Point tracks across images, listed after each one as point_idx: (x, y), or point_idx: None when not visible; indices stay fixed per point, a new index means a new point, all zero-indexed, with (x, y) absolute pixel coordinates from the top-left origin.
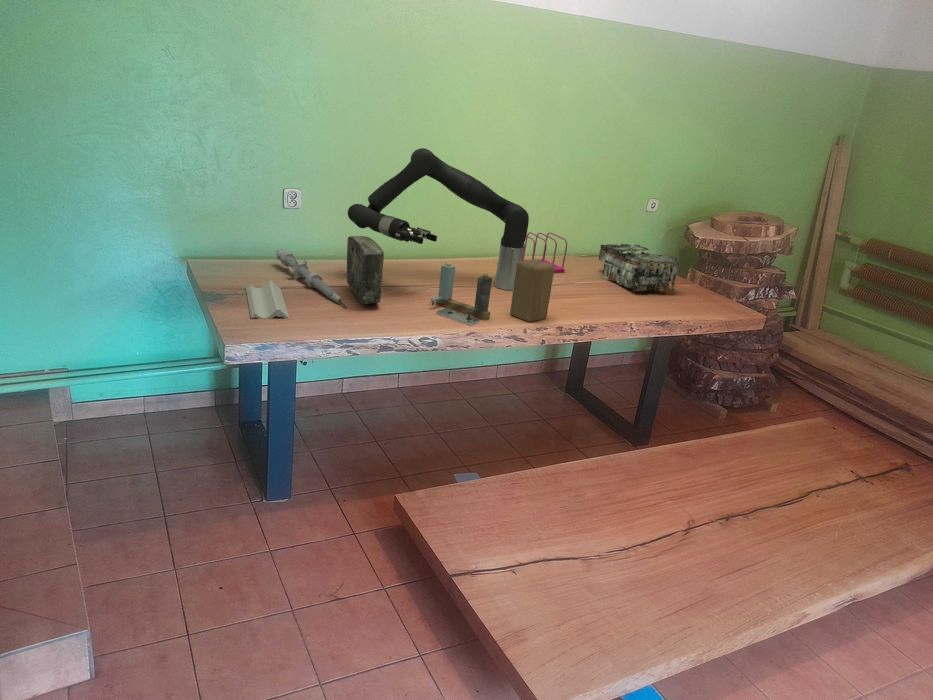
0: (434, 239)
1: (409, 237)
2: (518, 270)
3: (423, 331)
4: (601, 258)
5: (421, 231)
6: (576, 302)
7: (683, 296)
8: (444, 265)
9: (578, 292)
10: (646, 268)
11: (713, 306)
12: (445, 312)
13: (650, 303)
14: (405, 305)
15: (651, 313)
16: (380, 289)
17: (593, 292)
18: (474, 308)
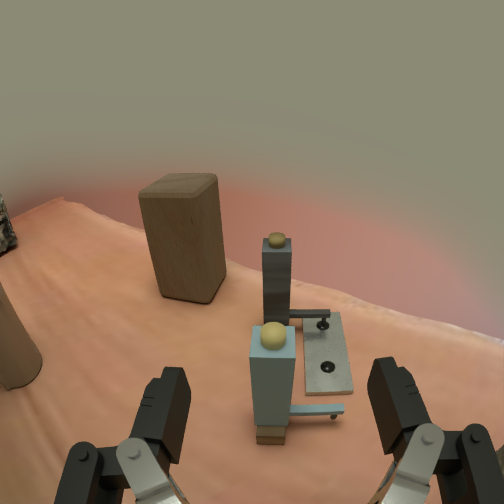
0: (185, 393)
1: (456, 434)
2: (200, 207)
3: (444, 337)
4: None
5: (181, 502)
6: (69, 271)
7: (15, 228)
8: (282, 352)
9: (20, 282)
10: (6, 212)
11: (40, 212)
12: (337, 373)
13: (45, 233)
14: (380, 477)
15: (81, 224)
16: (500, 448)
17: (16, 272)
18: (288, 322)
